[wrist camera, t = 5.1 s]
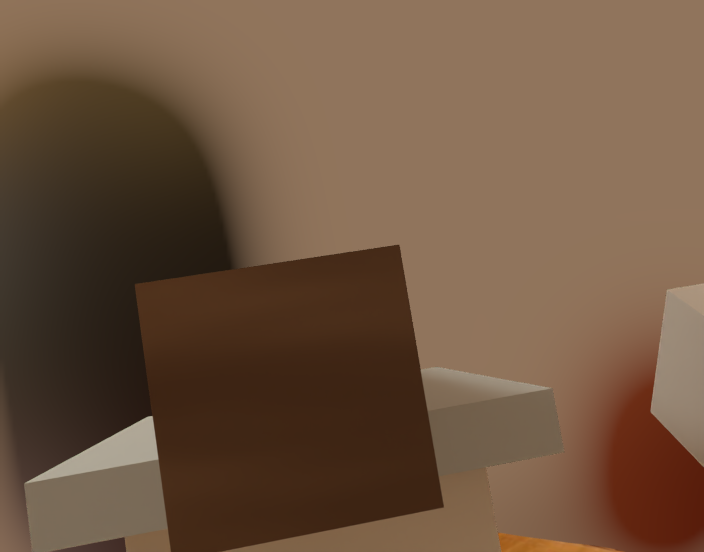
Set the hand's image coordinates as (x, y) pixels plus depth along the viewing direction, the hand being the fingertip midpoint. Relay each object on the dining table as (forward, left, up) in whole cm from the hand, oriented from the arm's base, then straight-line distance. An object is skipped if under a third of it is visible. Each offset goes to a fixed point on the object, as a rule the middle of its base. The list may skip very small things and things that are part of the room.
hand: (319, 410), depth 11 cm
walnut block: (-10, +7, -1) cm, 12 cm away
